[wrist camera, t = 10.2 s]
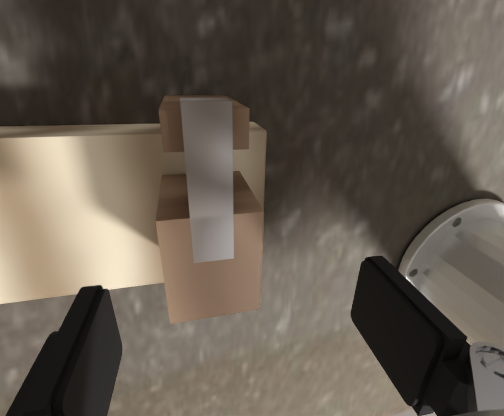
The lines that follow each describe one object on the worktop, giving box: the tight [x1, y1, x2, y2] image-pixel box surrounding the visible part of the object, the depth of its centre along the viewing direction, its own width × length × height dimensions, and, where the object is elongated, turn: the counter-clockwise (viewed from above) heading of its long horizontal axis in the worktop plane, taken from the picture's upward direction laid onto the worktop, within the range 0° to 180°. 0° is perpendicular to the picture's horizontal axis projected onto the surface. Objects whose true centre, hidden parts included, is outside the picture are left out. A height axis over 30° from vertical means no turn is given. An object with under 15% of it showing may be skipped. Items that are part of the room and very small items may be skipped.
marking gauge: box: [156, 95, 264, 324], centre depth 14 cm, size 4×9×6 cm, turn 179°
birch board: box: [0, 122, 267, 304], centre depth 16 cm, size 24×9×3 cm, turn 89°
